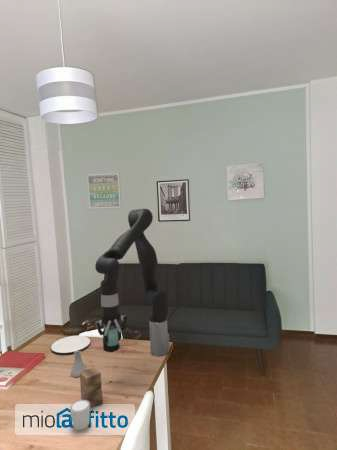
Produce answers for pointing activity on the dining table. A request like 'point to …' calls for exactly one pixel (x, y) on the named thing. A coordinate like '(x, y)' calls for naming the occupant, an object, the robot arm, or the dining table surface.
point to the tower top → (90, 380)
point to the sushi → (110, 347)
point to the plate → (70, 344)
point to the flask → (78, 365)
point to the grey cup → (80, 414)
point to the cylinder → (112, 336)
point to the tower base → (92, 397)
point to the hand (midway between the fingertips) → (112, 341)
